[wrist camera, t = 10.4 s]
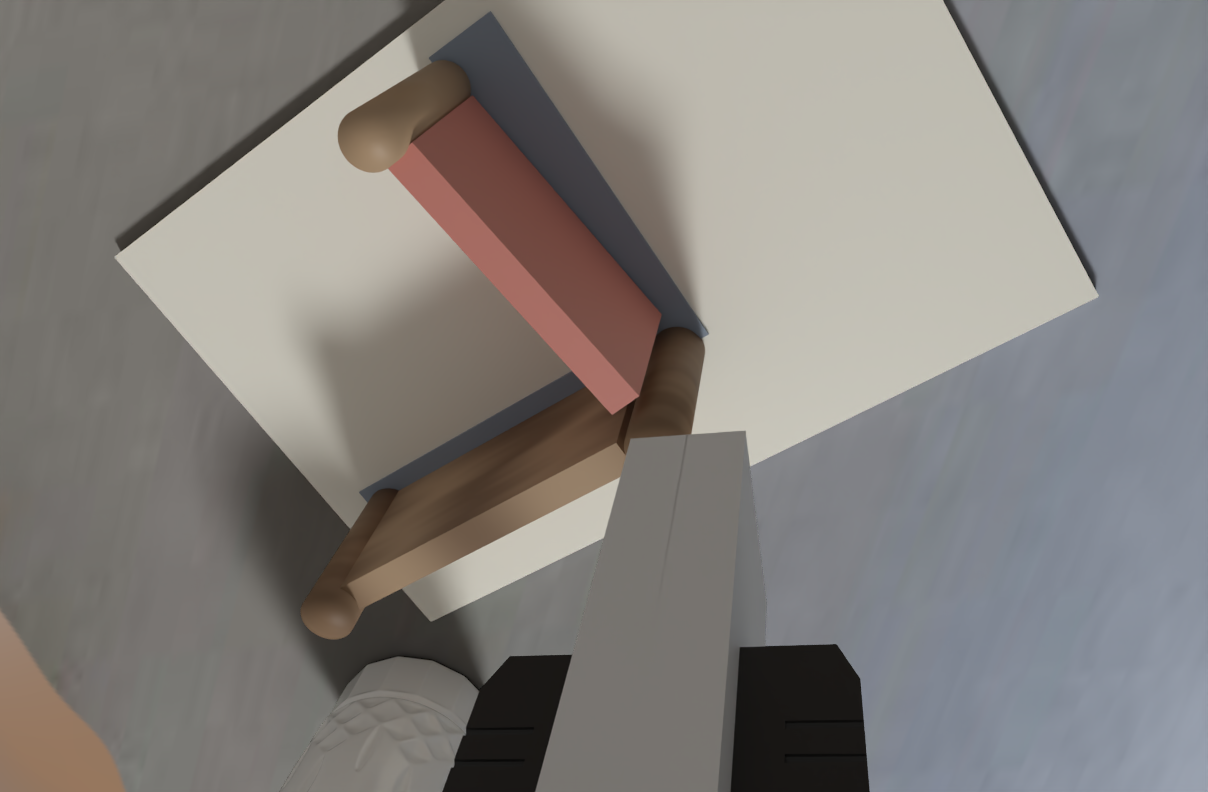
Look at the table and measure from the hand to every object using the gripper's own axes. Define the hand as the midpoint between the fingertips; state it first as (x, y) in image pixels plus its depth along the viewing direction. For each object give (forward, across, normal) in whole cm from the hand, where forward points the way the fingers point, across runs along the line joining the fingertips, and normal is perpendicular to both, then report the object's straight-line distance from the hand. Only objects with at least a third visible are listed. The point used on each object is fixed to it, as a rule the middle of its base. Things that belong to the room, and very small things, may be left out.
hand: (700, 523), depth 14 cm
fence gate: (+20, -7, -1) cm, 21 cm away
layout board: (+20, -6, -3) cm, 22 cm away
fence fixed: (+20, -9, -9) cm, 24 cm away
